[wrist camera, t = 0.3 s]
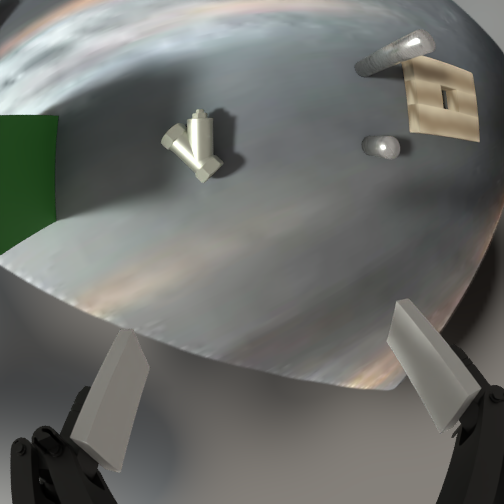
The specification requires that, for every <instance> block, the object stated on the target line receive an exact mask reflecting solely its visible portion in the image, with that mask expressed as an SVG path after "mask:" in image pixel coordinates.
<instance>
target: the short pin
mask: <svg viewBox="0 0 504 504" xmlns="http://www.w3.org/2000/svg"><path fill="white" fill-rule="evenodd" d="M362 149H363V151H364V153H365V154H367V155H369V156H375V157H381V158H387V159H395V158H396V157H397V156H398V155H399V153H400V144H399V142H398V140H397V139H396V138H394V137H392V136H367V137H365V138H364V139H363V141H362Z"/></svg>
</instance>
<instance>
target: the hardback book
mask: <svg viewBox="0 0 504 504" xmlns="http://www.w3.org/2000/svg"><path fill="white" fill-rule="evenodd" d="M58 118H59V116H53V115H0V255H2V254H3V253H5V252H6V251H8V250H9V249H11V248H12V247H14V246H15V245H17V244H18V243H20V242H22V241H23V240H25V239H26V238H28V237H30V236H31V235H33V234H35V233H36V232H38V231H40V230H41V229H43V228H45V227H47V226H48V225H50V224H52V223H54V222H56V208H55V153H56V138H57V127H58Z"/></svg>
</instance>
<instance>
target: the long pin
mask: <svg viewBox="0 0 504 504" xmlns="http://www.w3.org/2000/svg"><path fill="white" fill-rule="evenodd" d="M434 50H435V42H434V40H433V38H432V36H431V35H430V34H429V33H428V32H426V31H425V30H422V29H419V30H417V31H414V32H412V33H410V34H408V35H406V36H404V37H402V38H400V39H398V40H397V41H395V42H393V43H391V44H389V45H387V46H385V47H383V48H382V49H380V50H378V51H376V52H374V53H373V54H371V55H369V56H367V57H366V58H364V59H362V60H360V61H359V62H357V63H356V64H355V71H356V73H357V74H358V75H360V76H361V77H368V76H370V75H372V74H374V73H377V72H379V71H382V70H384V69H386V68H389V67H391V66H394V65H397V64H399V63H402V62H404V61H407V60H410V59H412V58H415V57H418V56H421V55H424V54H427V53H430V52H433V51H434Z"/></svg>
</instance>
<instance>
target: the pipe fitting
mask: <svg viewBox="0 0 504 504" xmlns="http://www.w3.org/2000/svg"><path fill="white" fill-rule="evenodd" d="M161 144H162V145H163V146H164V147H165V148H166V149H168V150H172V151H173V152H174V153H175V154H176V155H177V156H178V157H179V158H180V159H181V160H182V161H183V162H184V163H185V164H186V165H187V166H188V167H189V168H190V169H192V170H193V171H194V172H195V173H196V175H195V176H196V177H197V178H198V179H199V180H200V181H201V182H202V183H205V182H206V181H207V180H208V179H209V178H210V177H211V176H212V175H213V174H214V173H215V172H216V171H217V170H218V169H219V168H220V167H221V166H222V165H223V161H222V160H221V159H220V158H219V157H218V156H216V155H213V118H207V113H204V110H203V109H198V110H196V113H194V114H192V119H187V127H186V126H185V125H184V124H182V123H177V124H176V125H174V126H173V127H172V128H170V129H169V130H168V131H167V133H166V134H165V135H164V136H163V138H162V141H161Z"/></svg>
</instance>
